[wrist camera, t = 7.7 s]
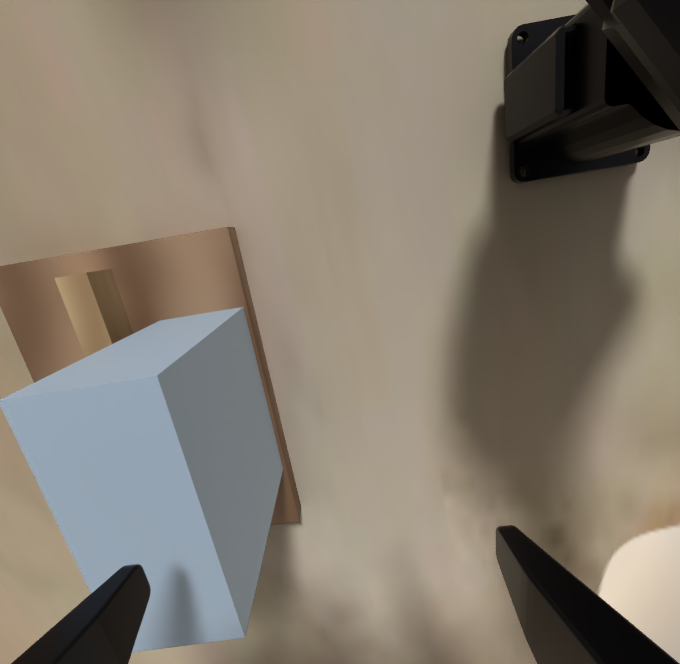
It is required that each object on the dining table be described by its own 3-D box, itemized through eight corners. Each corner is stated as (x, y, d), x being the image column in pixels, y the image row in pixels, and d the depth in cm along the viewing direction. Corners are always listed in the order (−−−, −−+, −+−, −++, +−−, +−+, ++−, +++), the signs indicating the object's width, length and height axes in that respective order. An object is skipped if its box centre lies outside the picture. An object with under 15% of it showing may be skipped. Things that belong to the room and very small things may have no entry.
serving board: (234, 227, 18) (215, 226, 15) (300, 506, 23) (295, 546, 20) (5, 267, 18) (-56, 273, 16) (119, 533, 23) (88, 575, 20)
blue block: (243, 306, 18) (157, 375, 9) (283, 468, 21) (245, 637, 12) (159, 320, 18) (-2, 401, 9) (210, 479, 21) (120, 653, 12)
